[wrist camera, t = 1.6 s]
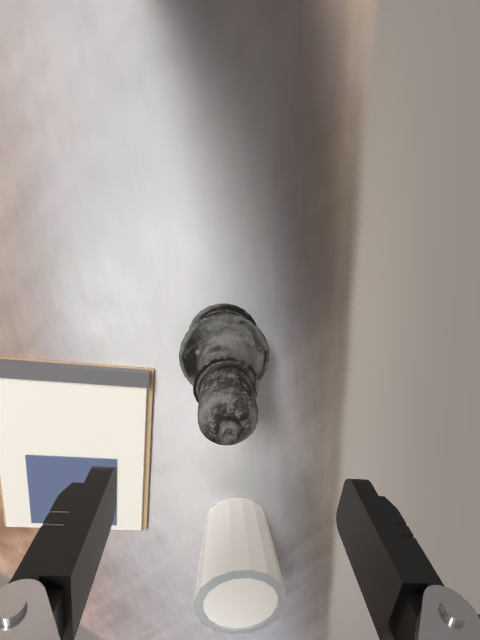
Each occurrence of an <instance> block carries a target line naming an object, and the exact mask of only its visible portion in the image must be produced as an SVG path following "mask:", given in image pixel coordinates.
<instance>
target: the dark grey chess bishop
mask: <svg viewBox="0 0 480 640" xmlns="http://www.w3.org/2000/svg"><path fill="white" fill-rule="evenodd" d="M179 360H180V366H181V369H182V371H183V374H184V376H185V377H186V378H187V380H188V381H189V382H190V384H192V385H193V392H194V396H195V398H196V401H197V402H198V403H199V406H198V424H199V427H200V430H201V432H202V433H203V435H204V436H205V437H206V438H207V439H209V440H210V441H212V442H214V443H217V444H220V445H233V444H237V443H239V442H241V441H243V440H245V439H246V438H247V437H248V436H250V435H251V434H252V432H253V431H254V429H255V427H256V424H257V421H258V409H257V404H256V399H255V398H256V396H257V394H258V390H259V381H260V379H261V378H262V376H263V375H264V373H265V371H266V369H267V365H268V362H269V348H268V345H267V341H266V338H265V337H264V335H263V334H262V332H261V331H260V329H259V328H258V327H257V326H256V323H255V322H254V320H253V318H252V317H251V316H250V315H249V314H248V313H247V312H246V311H245V310H244V309H242V308H240V307H238V306H235V305H230V304H216V305H213V306H209V307H207V308H205V309H204V310H202V311H201V312H199V313H198V315H197V316H196V317H195V318H194V319H193V321H192V323H191V325H190V327H189V331H188V332H187V333H186V335H185V337H184V339H183V341H182V343H181V347H180V352H179Z"/></svg>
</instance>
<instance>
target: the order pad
mask: <svg viewBox="0 0 480 640" xmlns="http://www.w3.org/2000/svg"><path fill="white" fill-rule="evenodd" d="M153 381H154V368H142V367H129V366H115V365H102V364H89V363H76V362H63V361H49V360H36V359H23V358H10V357H0V492H1V500H2V508H3V515H4V523H5V526H7V527H39V528H40V527H41V526H42V525H43V522H44V520H45V518H46V516H47V515H48V513H49V512H50V509H51V507H52V506H53V504H54V502H55V500H56V498H57V497H58V495H59V494H60V493H61V492H62V491H63V490H64V489H65V488H67V487H68V486H69V485H70V484H71V483H72V482H76V483H84V481H85V479H86V477H87V475H88V473H89V471H90V469H91V468H92V466H105V467H116V469H117V484H116V509H115V515H114V520H113V523H112V526H111V530H146V529H147V514H148V491H149V469H150V447H151V425H152V403H153Z"/></svg>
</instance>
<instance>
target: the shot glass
mask: <svg viewBox="0 0 480 640" xmlns="http://www.w3.org/2000/svg"><path fill="white" fill-rule="evenodd" d="M286 596H287V593H286V590H285V586H284V582H283V578H282V575H281V571H280V567H279V564H278V560H277V556H276V553H275V549H274V545H273V541H272V538H271V534H270V530H269V527H268V523H267V519H266V516H265V513H264V511H263V509H262V507H261V506H260V505H259V504H257V503H256V502H255V501H253V500H250V499H247V498H243V497H235V498H227V499H225V500H222V501H219V502H218V503H216V504H215V505H214V506H213V507H212V508H210V509H209V511H208V513H207V515H206V517H205V524H204V531H203V539H202V546H201V553H200V561H199V568H198V575H197V583H196V590H195V598H194V608H195V614H196V615H197V617H198V618H199V620H200V621H201V622H202V624H204V625H206V626H208V627H209V628H211V629H213V630H215V631H219V632H224V633H229V634H238V633H249V632H252V631H255V630H258V629H261V628H264V627H266V626H267V625H269V624H270V623H272V622H273V621H274V620H276V619H277V618H278V617H279V616H280V614H281V613H282V611H283V610H284V608H285V606H286Z"/></svg>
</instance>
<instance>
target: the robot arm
mask: <svg viewBox="0 0 480 640" xmlns="http://www.w3.org/2000/svg"><path fill="white" fill-rule="evenodd" d="M116 484H117V469H116V467H105V466H92V468H91V469H90V471H89V473H88V475H87V477H86V479H85V481H84V483H76V482H72V483H71V484H70V485H69V486H68V487H67V488H65V489H64V490H63V491H62V492H61V493H60V494H59V495H58V497H57V498H56V500H55V502H54V504H53V506H52V507H51V509H50V512H49V513H48V515H47V516H46V518H45V520H44V522H43V525H42V526H41V527H40V529H39V531H38V533H37V534H36V536H35V538H34V540H33V542H32V543H31V545H30V547H29V549H28V551H27V552H26V554H25V556H24V558H23V560H22V561H21V563H20V565H19V567H18V569H17V570H16V572H15V574H14V576H13V577H12V579H11V581H10V582H9V583H8V584H7V585H5V586H3V587H2V588H0V640H74V638H75V635H76V632H77V629H78V626H79V623H80V620H81V617H82V614H83V611H84V608H85V605H86V602H87V599H88V596H89V593H90V590H91V587H92V584H93V581H94V578H95V575H96V572H97V569H98V566H99V563H100V560H101V557H102V554H103V551H104V548H105V545H106V542H107V538H108V535H109V532H110V529H111V526H112V523H113V520H114V515H115V509H116ZM336 521H337V528H338V531H339V534H340V537H341V539H342V542H343V545H344V547H345V550H346V553H347V555H348V558H349V560H350V563H351V566H352V568H353V571H354V573H355V576H356V579H357V581H358V584H359V587H360V589H361V592H362V594H363V597H364V600H365V602H366V605H367V607H368V610H369V613H370V615H371V618H372V620H373V623H374V626H375V628H376V631H377V634H378V636H379V639H380V640H480V615H478V614H477V613H476V611H475V610H474V608H473V607H472V606H471V605H470V604H469V603H468V602H467V601H466V600H465V599H464V598H463V597H462V596H461V595H459V594H458V593H456V592H455V591H453V590H451V589H449V588H447V587H445V586H444V585H443V583H442V582H441V580H440V578H439V576H438V575H437V573H436V572H435V570H434V569H433V567H432V565H431V563H430V562H429V560H428V558H427V557H426V555H425V554H424V552H423V550H422V549H421V547H420V545H419V544H418V542H417V540H416V539H415V538H414V537H413V534H412V532H411V531H410V529H409V527H408V526H406V522H405V521H404V519H403V517H402V516H401V514H400V512H399V511H398V510H397V508H396V507H395V506H394V505H393V504H392V503H391V502H389V500H387V499H386V498H385V497H383V496H378V494H377V493H376V491H375V489H374V487H373V486H372V484H371V482H370V481H369V480H362V479H346V480H345V482H344V486H343V490H342V494H341V497H340V501H339V505H338V509H337V514H336Z"/></svg>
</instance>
